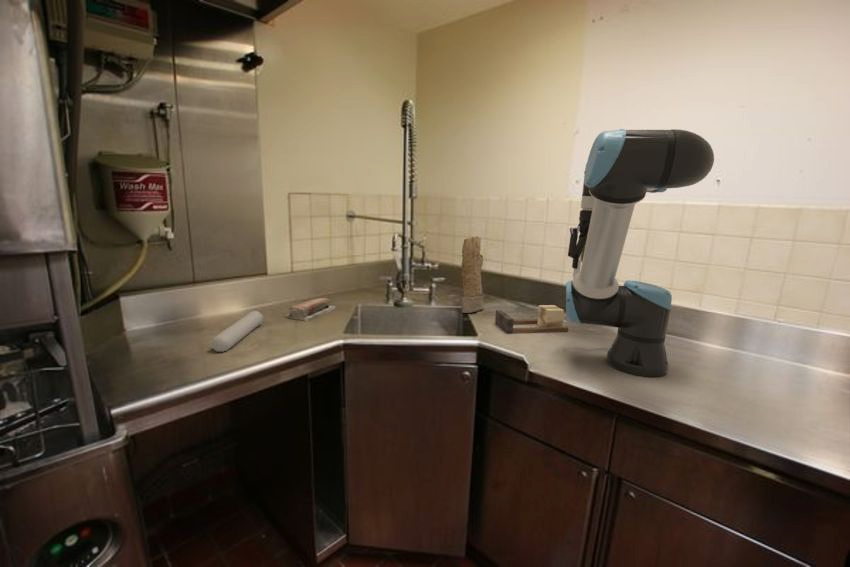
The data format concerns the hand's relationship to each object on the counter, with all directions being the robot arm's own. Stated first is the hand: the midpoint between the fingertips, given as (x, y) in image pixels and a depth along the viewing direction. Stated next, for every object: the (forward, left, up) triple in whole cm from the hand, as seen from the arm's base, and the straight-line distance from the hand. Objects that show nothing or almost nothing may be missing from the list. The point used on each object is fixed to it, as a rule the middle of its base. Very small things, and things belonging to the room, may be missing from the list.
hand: (583, 277), depth 137 cm
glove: (+27, +31, -19) cm, 45 cm away
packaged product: (+26, +93, -19) cm, 99 cm away
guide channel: (0, +18, -19) cm, 26 cm away
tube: (+1, +113, -19) cm, 114 cm away
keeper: (0, +11, -18) cm, 21 cm away
